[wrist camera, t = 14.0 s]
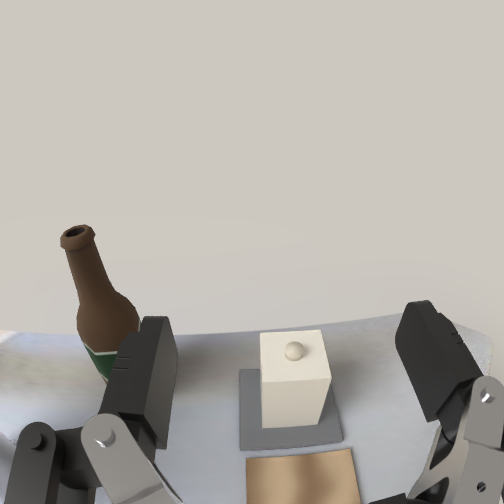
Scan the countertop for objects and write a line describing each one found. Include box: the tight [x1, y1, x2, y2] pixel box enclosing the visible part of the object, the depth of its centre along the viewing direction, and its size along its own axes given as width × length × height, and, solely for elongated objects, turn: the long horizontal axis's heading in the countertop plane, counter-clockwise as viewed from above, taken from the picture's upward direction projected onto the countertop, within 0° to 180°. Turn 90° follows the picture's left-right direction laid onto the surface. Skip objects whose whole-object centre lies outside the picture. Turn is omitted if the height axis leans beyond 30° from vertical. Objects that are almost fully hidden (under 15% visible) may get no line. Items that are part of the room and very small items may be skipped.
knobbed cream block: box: [260, 330, 332, 428], centre depth 33 cm, size 7×7×11 cm
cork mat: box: [246, 449, 361, 504], centre depth 25 cm, size 12×12×1 cm
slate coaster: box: [240, 369, 343, 451], centre depth 36 cm, size 12×12×1 cm
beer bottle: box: [60, 225, 141, 384], centre depth 33 cm, size 8×8×24 cm
